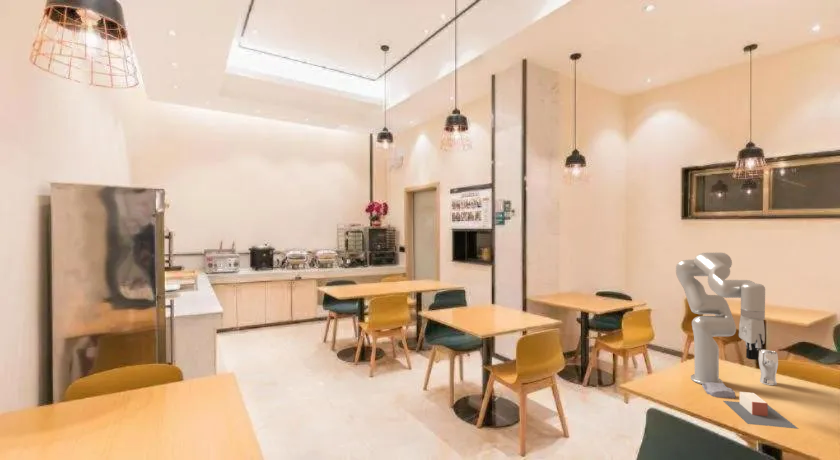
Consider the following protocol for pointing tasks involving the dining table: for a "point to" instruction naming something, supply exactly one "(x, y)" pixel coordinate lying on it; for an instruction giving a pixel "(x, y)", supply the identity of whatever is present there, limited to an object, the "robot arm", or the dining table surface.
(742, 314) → the robot arm
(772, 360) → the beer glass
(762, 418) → the charcoal mat
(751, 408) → the cream block
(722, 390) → the stone block
